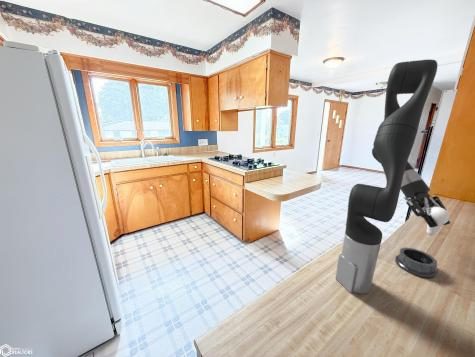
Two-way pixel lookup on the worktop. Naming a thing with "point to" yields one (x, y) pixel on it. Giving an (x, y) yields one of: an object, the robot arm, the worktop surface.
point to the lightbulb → (437, 219)
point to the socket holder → (417, 263)
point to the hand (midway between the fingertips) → (440, 225)
